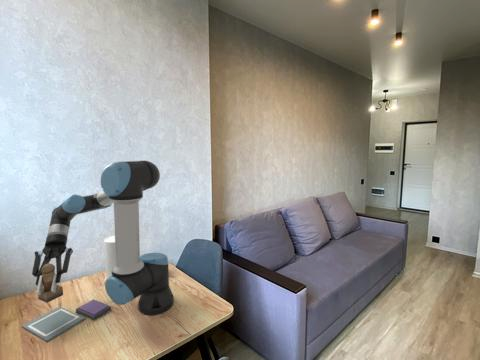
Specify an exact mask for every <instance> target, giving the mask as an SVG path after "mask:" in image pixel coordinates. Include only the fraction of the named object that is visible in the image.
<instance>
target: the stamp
mask: <svg viewBox="0 0 480 360" xmlns="http://www.w3.org/2000/svg"><path fill="white" fill-rule="evenodd" d="M55 269H56V265H54V264H53V263H50V262H49V264H45V265H44V266H43V267H42V269H41V272H42V278H43V288H42V293H41V295H38V294H37V298H38V300H40V301H42V302H44V303H46V304H48V303H49V302H52V301H54V300H56V299H58V298H60V297H62V296H64V289H63V286H62V285H59V284H57V286H56V292H55V293H53V292H52V291H51V287H52V282H53V277H54V274H56V270H55Z"/></svg>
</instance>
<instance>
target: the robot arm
mask: <svg viewBox="0 0 480 360" xmlns="http://www.w3.org/2000/svg"><path fill="white" fill-rule="evenodd" d="M160 176H161V173H160V169H159V168H158V166H157V165H156V164H154V163H153V162H151V161H149V160H134V161H133V160H129V161H117V162H116V161H115V162H112V163H109V164H108V165H106V167H105V168H103V170H102V172H101V175H100V187H101V188H102V190H100V191H99V192H97V193H95V194H89V195H84V196H83V195H79V194H74V193H72V194H71V195H69V196H67V197H66V198H65V199H64V200H63V202H62V203H58V204H56V205H54V207H53V208H52V209H53V210H52V212H51V215H50V216H51V217H50V222H49V227H48V231H47V234H46V239H45V243H44V247H43V249H42V250H40V251H34V262H33V267H32V272H31V275H33V276H34V277H35V278H36V280H35V285H36V286H37V288H36V291H35V294H37V296H38V295H41V293H42V288H44V287H43V278H42V272H41V269H42V267H43V266H44V265H45V264H49V263H50V262H51V261H52V259H55V264H56V265H55V269H56V270H55V271H56V273H55V274H54V277H53V282H52V287H51V291H52V292H53V293H55V292H56V286H57V285H58V284H59V283H60V282H61V278H62V275H63V274H67V272H68V269H69V265H70V261H71V256H72V254H73V253H74V250H73V249H72V247H67V242H68V236H69V231H70V226H71V221H72V219H74V218H75V217H76V216H77V215H82V214H85V213H89V212H94V211H98V210H104V209H107V208H109V207H111V206H112V204H113V216H114V217H113V219H114V224H113V225H114V235H115V253H116V264H115V265H113V267H112V276H111V277H108V278H107V279H106V280H105V282H104V288H105V292H106V295H107V296H108V297H109V298H110V300H111V301H112V302H113V303H114V304H117V305H119V306H122V305H126V304H129V303H130V302H133V300H134V299H136V298H138V297H139V299H138V301H137V302H138V303H137V304H138V305H137V306H138V311H139V312H140V314H142V315H146V316H152V315H153V316H154V315H155V316H156V315H160V314H163V313H165V312H167V311H168V310H169V309H171V308H172V307H173V305H174V303H175V299H174V298H175V297H174V294H173V292H172V290H171V287H170V277H169V276H170V274H169V273H170V272H169V264H170V263H169V258H168V255H166V254H165V253H162V252H148V253H144V254H142V255H141V254H140V253H141V251H140V250H141V247H140V243H141V242H140V201H141V200H142V199H143V197H144V191H147V190H149V189H152V188H153V187H155V186H157V185H158V183H159V182H160ZM64 253H65V256H64V261H63V265H62V255H63V254H64ZM43 255H44V259H43V260H42V257H43ZM41 261H42V263H41Z"/></svg>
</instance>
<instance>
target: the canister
mask: <svg viewBox="0 0 480 360" xmlns="http://www.w3.org/2000/svg"><path fill="white" fill-rule="evenodd" d="M103 249H104V260H105V262H104V263H105V274H106V277H108V278H109V277H111V276H112V267H113V265H115V264H116V253H115V234H113V235H109V236H106V237H105V238H103Z"/></svg>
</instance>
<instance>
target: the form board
mask: <svg viewBox="0 0 480 360" xmlns="http://www.w3.org/2000/svg"><path fill="white" fill-rule="evenodd" d="M85 320H86V317H85V316H82V315H80V314H78V313H76V312H73V311H71V310H69V309H66V308H64V307H63V306H58V307H56V308H53V309H52V310H50V311H48V312H46V313H44V314H42V315H39V316H38V317H36V318H34V319H32V320H30V321H28V322H26V323H24V324H22V325H21V327H22V328H23V329H24V330H25V331H28V332H30V333H32V334H33V335H35V336H37V337H38V338H40V339H41V340H43V341H44V342H47V343H48V342H49V341H51V340H53V339H55V338H57V337H58V336H60V335H61V334H64V333H65V332H66V331H68V330H70V329H72V328H73V327H75V326H76V325H78V324H80V323H82V322H83V321H85Z"/></svg>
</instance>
